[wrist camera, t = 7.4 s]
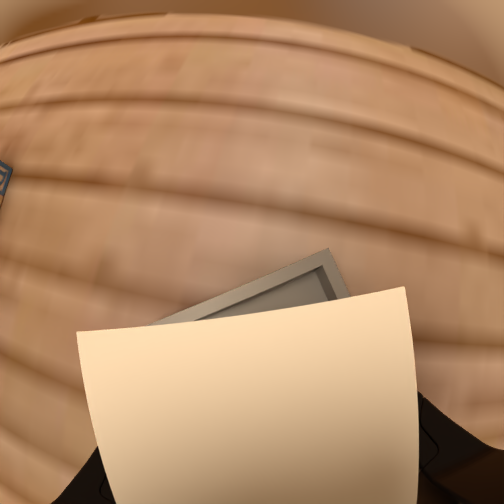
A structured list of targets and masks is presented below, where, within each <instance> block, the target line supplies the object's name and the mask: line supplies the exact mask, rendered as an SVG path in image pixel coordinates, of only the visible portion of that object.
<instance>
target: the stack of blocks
mask: <svg viewBox="0 0 504 504" xmlns="http://www.w3.org/2000/svg"><path fill="white" fill-rule="evenodd" d="M11 172H12V168H11V167H9V166H8V165H6V164H5V163H4V162H2V161H1V160H0V206H1V203H2V200H3V196H4V193H5V190H6V187H7V184H8V181H9V178H10V175H11Z"/></svg>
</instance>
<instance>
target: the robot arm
mask: <svg viewBox="0 0 504 504" xmlns="http://www.w3.org/2000/svg"><path fill="white" fill-rule="evenodd" d="M417 398H418V421H419V468H418V491H417V504H504V450H500V449H496V448H493V447H491V446H489V445H487V444H485V443H483V442H482V441H480V440H479V439H477V438H476V437H475V436H473V435H472V434H470V433H469V432H467V431H466V430H465V429H463V428H462V427H460V426H459V425H458V424H456V423H455V422H454V421H452V420H451V419H450V418H448V417H447V416H446V415H444V414H443V413H442V412H441V411H440V410H438V409H437V408H436V407H435V406H434V405H433V404H432V403H431V402H429V401H428V400H427V399H426V398H425V397H424V398H423V395H422V394H421V393H420V392H418V391H417ZM51 504H116V501H115V499H114V496H113V493H112V490H111V487H110V484H109V481H108V478H107V475H106V472H105V469H104V465H103V462H102V458H101V455H100V451H99V448H98V446H97V447H96V449H95V450H94V452H93V453H92V455H91V456H90V458H89V459H88V461H87V462H86V463H85V465H84V466H83V467H82V469H81V470H80V471H79V472H78V474H77V475H76V476H75V477H74V479H73V480H72V481H71V482H70V484H69V485H68V486H67V487H66V488H65V490H64V491H63V492H62V493H61V495H60V496H59V497H58V498H57V499H56V500H55V501H53V502H52V503H51Z"/></svg>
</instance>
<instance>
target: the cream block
mask: <svg viewBox="0 0 504 504" xmlns="http://www.w3.org/2000/svg"><path fill="white" fill-rule="evenodd" d="M77 341H78V349H79V356H80V363H81V369H82V375H83V381H84V386H85V392H86V397H87V402H88V407H89V411H90V416H91V420H92V424H93V429H94V433H95V437H96V440H97V444H98V448H99V451H100V455H101V458H102V462H103V465H104V469H105V472H106V475H107V478H108V481H109V484H110V487H111V490H112V493H113V496H114V499H115V501H116V504H417V491H418V468H419V421H418V398H417V383H416V370H415V359H414V350H413V341H412V333H411V325H410V318H409V311H408V305H407V299H406V293H405V287H404V286H403V287H399V288H394V289H389V290H384V291H379V292H374V293H369V294H364V295H359V296H354V297H349V298H343V299H338V300H332V301H327V302H321V303H315V304H310V305H304V306H298V307H292V308H285V309H279V310H273V311H266V312H259V313H252V314H245V315H238V316H231V317H223V318H216V319H208V320H200V321H191V322H183V323H174V324H164V325H155V326H144V327H134V328H122V329H110V330H97V331H83V332H77Z"/></svg>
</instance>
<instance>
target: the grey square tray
mask: <svg viewBox="0 0 504 504" xmlns="http://www.w3.org/2000/svg"><path fill="white" fill-rule="evenodd" d="M349 297H350V294H349V292H348V290H347V287H346V285H345V283H344V281H343V279H342V276H341V274H340V272H339V270H338V268H337V265H336V263H335V261H334V259H333V257H332V255H331V252H330V250H329V248H327V249H325V250H322V251H320V252H318V253H316V254H313V255H311V256H309V257H307V258H304V259H302V260H300V261H298V262H295V263H293V264H291V265H289V266H286V267H284V268H282V269H279V270H277V271H275V272H273V273H270V274H268V275H266V276H263V277H261V278H259V279H256V280H254V281H252V282H249V283H247V284H245V285H242V286H240V287H238V288H235V289H233V290H231V291H228V292H226V293H224V294H221V295H219V296H216V297H214V298H212V299H209V300H207V301H205V302H202V303H200V304H197V305H195V306H193V307H190V308H188V309H185V310H183V311H180V312H178V313H176V314H173V315H171V316H168V317H166V318H163V319H161V320H159V321H156V322H154V323H151V324H149V325H146V326H155V325H164V324H174V323H183V322H191V321H200V320H208V319H216V318H223V317H231V316H238V315H245V314H252V313H259V312H266V311H273V310H279V309H285V308H292V307H298V306H304V305H310V304H315V303H321V302H327V301H332V300H338V299H343V298H349Z"/></svg>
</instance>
